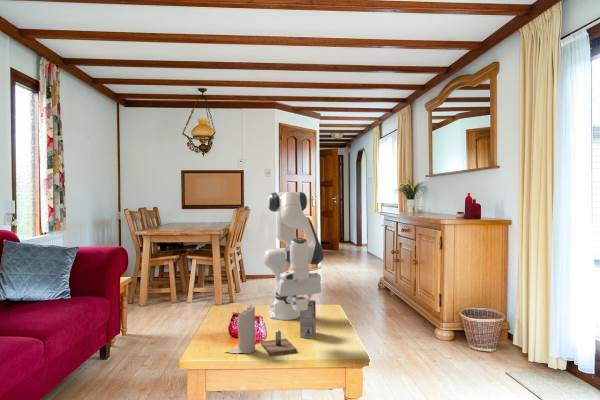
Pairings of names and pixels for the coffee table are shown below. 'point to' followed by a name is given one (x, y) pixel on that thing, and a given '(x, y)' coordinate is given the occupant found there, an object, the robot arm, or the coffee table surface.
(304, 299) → the collar
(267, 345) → the post board
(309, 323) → the coffee box
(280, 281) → the robot arm
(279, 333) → the steel post
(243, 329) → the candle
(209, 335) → the coffee table surface
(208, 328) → the coffee table surface
